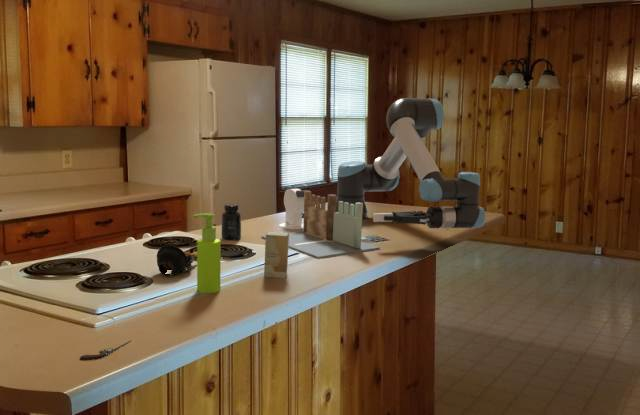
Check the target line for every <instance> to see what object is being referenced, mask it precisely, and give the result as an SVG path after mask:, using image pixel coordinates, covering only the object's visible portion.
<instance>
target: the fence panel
mask: <svg viewBox="0 0 640 415" xmlns="http://www.w3.org/2000/svg"><path fill="white" fill-rule="evenodd" d="M354 208H355V217H354ZM362 211H363V203H356V205H355V204H350V209H349V203H344V214H343V202H342V201H339V204H338V212H334V220H333V241H336V242H339V243H342V244H345V245H348V246H352V247H354V248H361V242H362V232H363V231H362V230H363V219H362Z"/></svg>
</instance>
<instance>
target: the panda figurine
mask: <svg viewBox="0 0 640 415" xmlns="http://www.w3.org/2000/svg"><path fill="white" fill-rule="evenodd" d="M304 191H307V190H305V189H301V188H295V187H294V186H285V187H284V196H283V205H284V208H285V209H284V210H285V220H284V222H282V223H280V224H278V227H279V228H281V229H286V230H303V226H304V222H303V221H302V220H303V219H304Z"/></svg>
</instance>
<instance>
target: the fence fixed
mask: <svg viewBox="0 0 640 415" xmlns="http://www.w3.org/2000/svg"><path fill="white" fill-rule="evenodd" d="M336 199H337V194H327V198H326V197H325V196H320V195H316V194H312V191H311V190H306V191H304V212H303V213H304V217H303V224H304V226H303V229H302V231H304V232H308V233H311V234H314V235H317V236H320V237H323V238H326V240H328V241H333V220H334V212H336ZM326 200H327V201H326ZM326 202H327V204H326ZM326 205H327V208H326Z"/></svg>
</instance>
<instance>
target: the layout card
mask: <svg viewBox="0 0 640 415" xmlns="http://www.w3.org/2000/svg"><path fill="white" fill-rule="evenodd" d="M288 233H289V244H288V249H292V250H293V251H297V252H299V253H302V254H305V255H307V256H310V257H313V258H314V259H315V258H316V259H324V258H331V257H337V256H342V255H343V256H344V255H350V254H357V253H363V252H369V251H376V250H380V248H381V247H380V246H376V245H373V244H370V243H367V242H363V241H361V248H354V247H352V246H348V245H345V244H342V243H339V242H336V241H328V240H326V238H323V237H320V236H317V235H314V234H311V233H308V232H304V231H303V230H301V231H291V232H288ZM261 238H262V239H264V240H266V235H261Z"/></svg>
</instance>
